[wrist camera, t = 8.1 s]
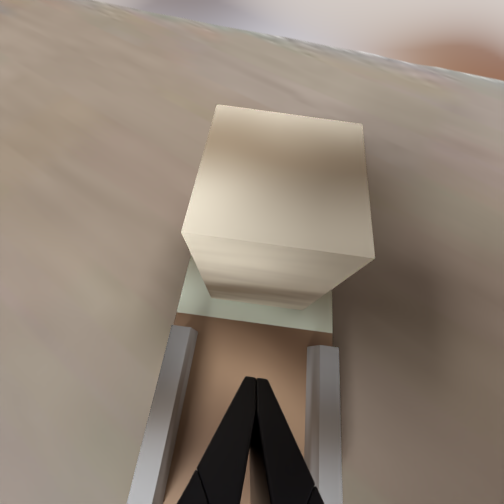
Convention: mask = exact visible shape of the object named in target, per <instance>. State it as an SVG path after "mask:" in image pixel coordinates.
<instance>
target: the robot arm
mask: <svg viewBox="0 0 504 504" xmlns="http://www.w3.org/2000/svg"><path fill="white" fill-rule="evenodd" d="M248 455H249V463H250V503H251V504H324V502H323V499H322V497H321V495H320V493H319V491H318V488H317V487H316V486H315V482H314V480H313V478H312V475H311V473H310V471H309V469H308V467H307V464H306V462H305V460H304V458H303V456H302V453H301V451H300V449H299V447H298V445H297V442H296V440H295V438H294V436H293V434H292V431H291V429H290V427H289V425H288V423H287V420H286V418H285V416H284V414H283V412H282V409H281V407H280V405H279V403H278V401H277V398H276V396H275V394H274V392H273V390H272V388H271V385H270V383H269V381H268V380H267V379H264V378H257V379H256V378H255V377H249V376H245V377H244V379H243V381H242V383H241V385H240V387H239V389H238V390H237V392H236V394H235V396H234V398H233V400H232V402H231V404H230V406H229V407H228V409H227V411H226V413H225V415H224V417H223V419H222V421H221V423H220V424H219V426H218V428H217V430H216V432H215V434H214V436H213V438H212V439H211V441H210V443H209V445H208V447H207V449H206V451H205V453H204V455H203V456H202V458H201V460H200V462H199V464H198V466H197V468H196V470H195V471H194V473H193V475H192V477H191V479H190V481H189V483H188V484H187V486H186V488H185V490H184V491H183V493H182V495H181V497H180V499H179V500H178V502H177V504H240V501H241V496H242V490H243V484H244V478H245V472H246V467H247V461H248Z"/></svg>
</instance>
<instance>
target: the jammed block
mask: <svg viewBox="0 0 504 504" xmlns="http://www.w3.org/2000/svg"><path fill="white" fill-rule="evenodd" d="M181 233H182V235H183V237H184V239H185V242H186V244H187V246H188V248H189V250H190V253H191V255H192V257H193V259H194V261H195V263H196V266H197V268H198V270H199V272H200V274H201V277H202V279H203V281H204V283H205V285H206V288H207V290H208V292H209V294H210V296H211V298H215V299H222V300H229V301H237V302H244V303H252V304H259V305H266V306H274V307H281V308H288V309H296V310H304V309H305V308H306V307H308V306H309V305H311V304H312V303H313V302H315V301H316V300H318V299H319V298H320V297H322V296H323V295H325V294H326V293H327V292H329V291H330V290H332V289H333V288H334V287H336V286H337V285H339V284H340V283H341V282H343V281H344V280H346V279H347V278H348V277H350V276H351V275H353V274H354V273H355V272H357V271H358V270H360V269H361V268H362V267H364V266H365V265H367V264H368V263H369V262H371V261H372V260H374V259H375V252H374V242H373V231H372V221H371V210H370V200H369V189H368V179H367V168H366V158H365V147H364V137H363V126H362V124H358V123H351V122H343V121H336V120H329V119H321V118H314V117H307V116H299V115H292V114H285V113H277V112H270V111H262V110H255V109H248V108H240V107H233V106H226V105H218V104H217V106H216V110H215V113H214V117H213V120H212V124H211V128H210V131H209V135H208V138H207V142H206V145H205V149H204V152H203V156H202V160H201V163H200V167H199V170H198V174H197V177H196V181H195V185H194V188H193V192H192V195H191V199H190V202H189V206H188V210H187V213H186V217H185V220H184V224H183V227H182V231H181Z"/></svg>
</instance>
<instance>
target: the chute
mask: <svg viewBox="0 0 504 504" xmlns="http://www.w3.org/2000/svg"><path fill="white" fill-rule="evenodd" d="M245 376H249V377H255V378H256V379H257V378H264V379H267V380H268V381H269V383H270V385H271V388H272V390H273V392H274V394H275V396H276V398H277V401H278V403H279V405H280V407H281V409H282V412H283V414H284V416H285V418H286V420H287V423H288V425H289V427H290V429H291V431H292V434H293V436H294V438H295V440H296V442H297V445H298V447H299V449H300V451H301V453H302V456H303V458H304V460H305V462H306V464H307V467H308V469H309V471H310V473H311V475H312V478H313V480H314V482H315V486H316V487H317V488H318V491H319V493H320V495H321V497H322V499H323V502H324V504H343V497H342V455H341V413H340V371H339V348H338V347H333V328H332V290H330V291H329V292H327V293H326V294H325V295H323V296H322V297H320V298H319V299H318V300H316V301H315V302H313V303H312V304H311V305H309V306H308V307H306V308H305V309H304V310H296V309H288V308H281V307H274V306H266V305H259V304H252V303H244V302H237V301H229V300H222V299H215V298H211V296H210V294H209V292H208V290H207V288H206V285H205V283H204V281H203V279H202V277H201V274H200V272H199V270H198V268H197V266H196V263H195V261H194V259H193V257H192V255H191V257H190V261H189V265H188V269H187V273H186V277H185V281H184V285H183V289H182V293H181V297H180V301H179V305H178V309H177V313H176V317H175V321H174V325H172V326H171V330H170V334H169V338H168V342H167V346H166V350H165V354H164V358H163V362H162V366H161V370H160V374H159V378H158V382H157V386H156V390H155V394H154V398H153V401H152V405H151V409H150V413H149V417H148V421H147V425H146V429H145V433H144V437H143V441H142V445H141V449H140V453H139V457H138V461H137V465H136V469H135V473H134V477H133V481H132V485H131V488H130V492H129V496H128V500H127V504H177V502H178V500H179V499H180V497H181V495H182V493H183V491H184V490H185V488H186V486H187V484H188V483H189V481H190V479H191V477H192V475H193V473H194V471H195V470H196V468H197V466H198V464H199V462H200V460H201V458H202V456H203V455H204V453H205V451H206V449H207V447H208V445H209V443H210V441H211V439H212V438H213V436H214V434H215V432H216V430H217V428H218V426H219V424H220V423H221V421H222V419H223V417H224V415H225V413H226V411H227V409H228V407H229V406H230V404H231V402H232V400H233V398H234V396H235V394H236V392H237V390H238V389H239V387H240V385H241V383H242V381H243V379H244V377H245ZM240 504H251V503H250V463H249V455H248V461H247V467H246V472H245V478H244V484H243V490H242V496H241V501H240Z"/></svg>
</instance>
